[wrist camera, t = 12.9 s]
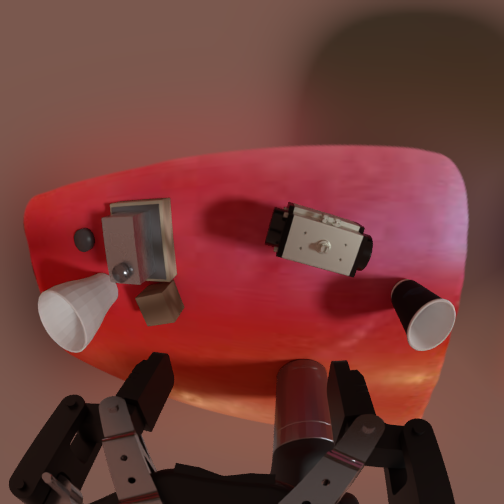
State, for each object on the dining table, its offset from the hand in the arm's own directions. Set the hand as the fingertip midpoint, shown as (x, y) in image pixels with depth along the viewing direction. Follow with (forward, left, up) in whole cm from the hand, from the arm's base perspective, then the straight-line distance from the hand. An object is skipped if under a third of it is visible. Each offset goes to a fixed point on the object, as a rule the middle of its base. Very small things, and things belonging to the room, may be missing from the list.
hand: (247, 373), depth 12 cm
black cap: (0, +32, -28) cm, 43 cm away
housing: (0, +19, -25) cm, 31 cm away
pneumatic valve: (+2, -6, -28) cm, 29 cm away
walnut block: (-10, +17, -28) cm, 34 cm away
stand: (0, +19, -28) cm, 34 cm away
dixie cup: (-9, -22, -28) cm, 37 cm away
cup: (-9, +29, -28) cm, 42 cm away
